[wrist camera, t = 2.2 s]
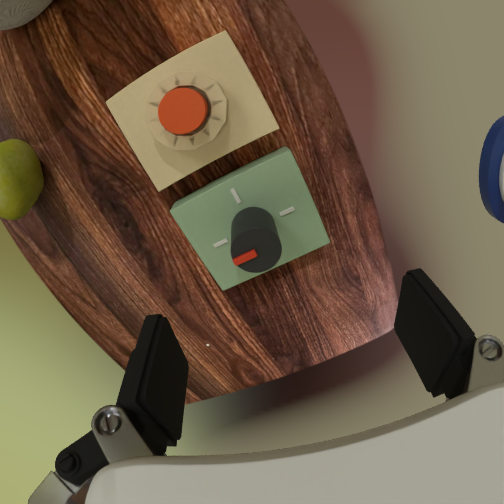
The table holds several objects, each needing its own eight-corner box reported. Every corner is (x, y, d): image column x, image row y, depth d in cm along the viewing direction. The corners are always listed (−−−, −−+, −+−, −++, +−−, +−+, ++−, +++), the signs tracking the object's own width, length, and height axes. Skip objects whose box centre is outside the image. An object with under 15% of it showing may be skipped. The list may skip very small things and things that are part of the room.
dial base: (285, 145, 25) (290, 149, 23) (323, 232, 30) (331, 243, 28) (174, 202, 28) (168, 212, 25) (223, 277, 32) (222, 292, 30)
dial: (263, 199, 25) (269, 220, 21) (281, 235, 27) (290, 262, 23) (223, 218, 26) (220, 243, 22) (243, 253, 28) (245, 282, 23)
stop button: (194, 80, 19) (191, 78, 18) (216, 118, 21) (214, 119, 19) (155, 103, 20) (149, 104, 18) (176, 140, 21) (172, 143, 20)
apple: (26, 116, 21) (-22, 128, 14) (69, 170, 25) (25, 195, 18) (-2, 164, 23) (-45, 186, 16) (37, 215, 27) (-2, 247, 20)
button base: (226, 35, 20) (224, 24, 17) (276, 126, 25) (283, 130, 21) (114, 101, 22) (96, 102, 19) (164, 185, 27) (153, 198, 23)
